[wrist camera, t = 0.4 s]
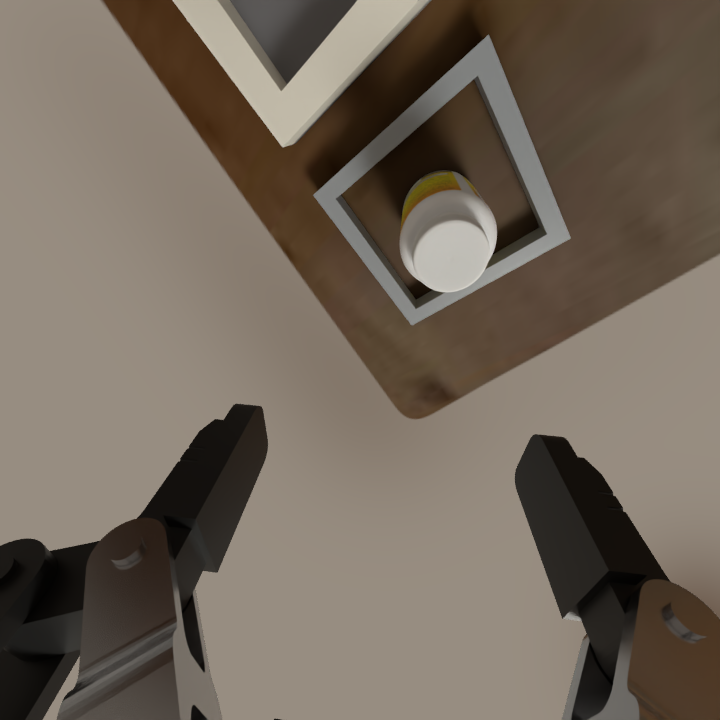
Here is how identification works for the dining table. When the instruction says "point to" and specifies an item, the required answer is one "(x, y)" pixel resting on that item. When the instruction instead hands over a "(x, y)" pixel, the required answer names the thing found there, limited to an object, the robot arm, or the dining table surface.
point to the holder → (296, 50)
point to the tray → (519, 150)
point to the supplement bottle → (446, 232)
